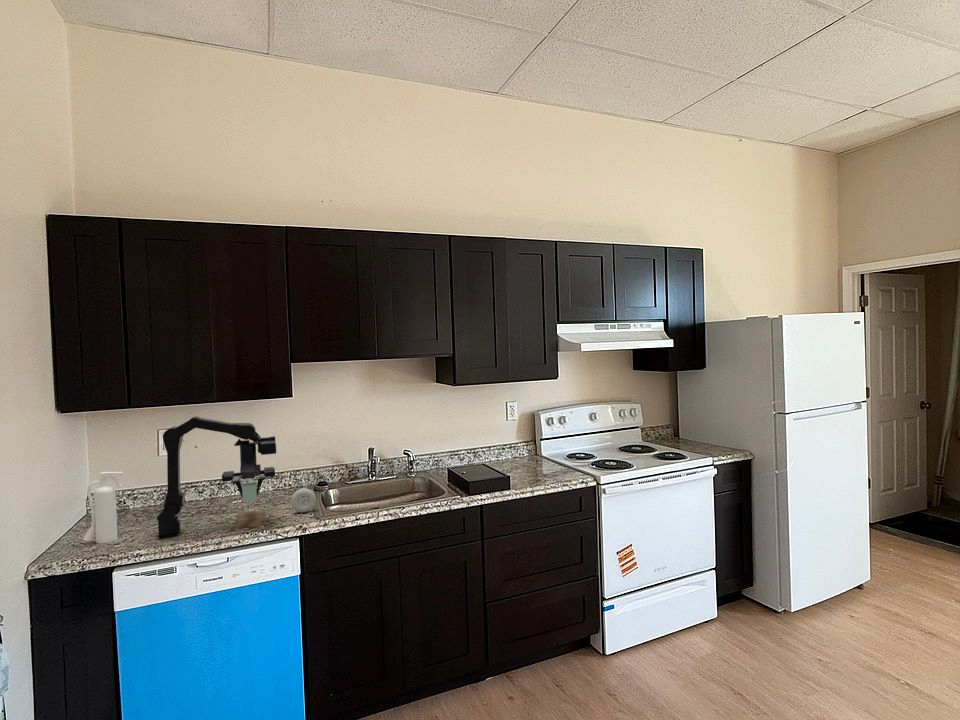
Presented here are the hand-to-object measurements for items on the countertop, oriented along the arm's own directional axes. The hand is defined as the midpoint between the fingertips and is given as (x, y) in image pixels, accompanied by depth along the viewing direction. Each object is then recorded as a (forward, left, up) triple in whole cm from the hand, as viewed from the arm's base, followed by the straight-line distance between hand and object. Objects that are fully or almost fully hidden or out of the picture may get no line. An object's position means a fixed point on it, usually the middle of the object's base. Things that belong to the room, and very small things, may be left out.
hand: (249, 496), depth 208 cm
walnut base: (0, 0, -12) cm, 12 cm away
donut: (+20, +7, -11) cm, 24 cm away
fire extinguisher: (-49, +5, -11) cm, 50 cm away
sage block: (0, 0, -1) cm, 1 cm away
